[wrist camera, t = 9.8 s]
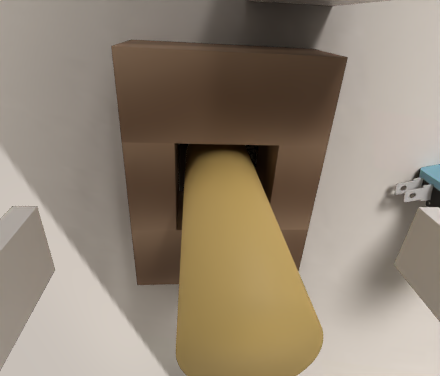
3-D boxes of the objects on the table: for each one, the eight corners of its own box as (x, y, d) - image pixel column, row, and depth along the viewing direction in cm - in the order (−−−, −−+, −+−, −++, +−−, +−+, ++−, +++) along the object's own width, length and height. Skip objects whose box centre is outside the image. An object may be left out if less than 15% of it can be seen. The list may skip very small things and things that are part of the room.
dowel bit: (185, 126, 17) (174, 299, 6) (249, 128, 17) (339, 295, 7) (185, 184, 19) (176, 394, 8) (244, 184, 19) (308, 388, 8)
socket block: (130, 39, 15) (111, 46, 11) (313, 48, 15) (347, 57, 12) (146, 239, 20) (137, 284, 17) (279, 238, 21) (296, 281, 18)
